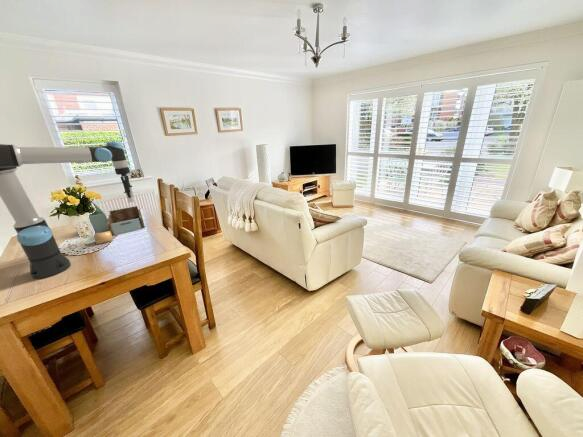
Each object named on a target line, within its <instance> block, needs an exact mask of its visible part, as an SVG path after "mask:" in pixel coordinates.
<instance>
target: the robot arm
mask: <svg viewBox="0 0 583 437" xmlns="http://www.w3.org/2000/svg"><path fill="white" fill-rule="evenodd" d="M97 162H101V163H107V162H111V163H112V166H113V168H114V172H115V174H116V175H121V176H120V180H121V183H122V185H123V188H124V191H123V193H124V194H125V195H126V197H127V202H128V203H134V202H135V201H134V197H135V195H134V192H133V190H132V187H133V185H131V183H130V178H129V175H128V174H130V173H131V171H130V167H129V161H127V157H126V154H125V150H124V147H123V145H122V142H121V141H119V140H118V141H117V140H116V141H115V140H114V141H107V142H106V145H100V146H97V145H96V146H87V147H83V146H82V147H79V146H78V147H76V146H75V147H71V146H69V147H66V146H65V147H63V146H62V147H61V146H60V147H57V146H56V147H55V146H54V147H53V146H52V147H51V146H49V147H48V146H47V147H45V146H44V147H43V146H35V147H34V146H17V145H16V144H4V143H3V144H2V143H0V198H1V200H2V202H3V203H4V205H5V207H6V208H7V210H8V212H9V213H10V215H11V217H12V219H13V220H14V222H15V223H14V224H13V228H14V231H15V232H16V233H17V234H16V238H17V242H18V243H19V245H20V246H21V248H22V250H23V252H24V253H25V255H26V257H27V259H28V261H29V274H30V276H31V278H32V279H44V278H49V277H52V276H56V275H58V274H61V273H63V272H64V271H66V270H67V269H69V268H70V267H71V265H72V264H71V261H70V260H69V259H68V258H67V257H66V256H65V255H64V254H63V253H62V251H61V250H60V248H59V245H58V243H57V242H56V239H55V237H54V235H53V231H52V229H51V227H50V226H49V225H48V223H47V221H46V220H45V218H44V217H43V216H42V217H41V216H39V214H38V213H37V211H36V209H35V207H34V205H33V203H32V202H31V199H30V198H29V196H28V194H27V192H26V191H25V189H24V187H23V185H22V184H21V181H20V179H19V177H18V176H17V173H16V171H17V170H18V167H21V166H23V165H37V164H68V163H69V164H70V163H71V164H73V163H97Z"/></svg>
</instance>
